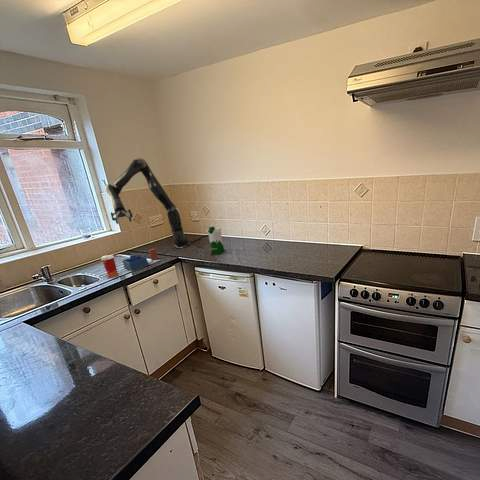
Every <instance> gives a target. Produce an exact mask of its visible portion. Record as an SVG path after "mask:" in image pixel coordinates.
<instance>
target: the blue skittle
mask: <svg viewBox="0 0 480 480" xmlns="http://www.w3.org/2000/svg"><path fill="white" fill-rule="evenodd" d="M137 256H138V255H137V253H133V254H130V255H129V258H131V262H133V261H137V260H138V258H137Z"/></svg>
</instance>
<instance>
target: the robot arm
mask: <svg viewBox="0 0 480 480" xmlns="http://www.w3.org/2000/svg"><path fill="white" fill-rule="evenodd" d="M138 173H141V174H142V176H143V177H144V178H145V180H146V182H147V186H148V188H149V191H150V192H151V193H152V194H153V196H154V197H155V198H156V199H157V201H159V202H160V204H162V207H164V209H165V210H166V216H167V219H168V223H169V226H170V231H171V234H172V237H173V238H172V239H173V243H174V247H175V249H183V248H186V247H188V246H189V239H187V236H186V234H185V231H184V227H183V223H182V219H181V215H180V210H179V208H178V206H176V205H175V203H173V201H172V200H171V197H169V195H168V192H166V190H165V188H164V187H163V185H162V184H161V183H160V181H159V180H158V178H157V177H156V176H155V174H154V172H153V171H152V170H151V167H150V166H149V164H148V162H147V161H146V160H145V159H144V158H142V157H138V158H134V159H133V160H131V163H130V164H129V166H128V167H127V168H126V169H125V170H124V171H123V173H121V174H120V175H119V176H118V177H117V178H116V179H115V180H114V182H113V183H114V185H113V184H110V183H109V184H108V183H107V184H106V185H105V187H104V191H105V194H106V195H107V196H108V197H109V199H110V202H111V205H112V209H113V211H114V212H113V211H112V212H110V216H111V220H112V221H115V223H116V225H120V224H119V223H120V222H119V219H120V218H128V221H129V222H130V223H132V218H133V213H132V211H131V209H127V210H126V208H125V205H124V203H123V200H122V198H121V196H120V194H121V192H122V190H123V188H124V187H125V186H126V185H128V183H129V182H130V181H131V179H132V178H133V177H134V176H135V175H137V174H138ZM204 237H209V236H208V234H206V235H202V236H200V237H199V238H198V239H196V240H190V243H195V242H197V241H199V240H200V239H202V238H204Z"/></svg>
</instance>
